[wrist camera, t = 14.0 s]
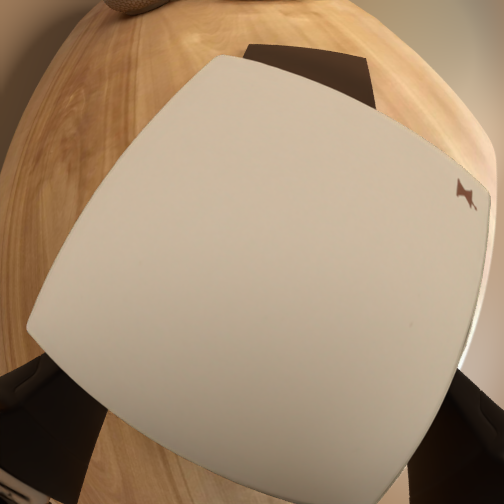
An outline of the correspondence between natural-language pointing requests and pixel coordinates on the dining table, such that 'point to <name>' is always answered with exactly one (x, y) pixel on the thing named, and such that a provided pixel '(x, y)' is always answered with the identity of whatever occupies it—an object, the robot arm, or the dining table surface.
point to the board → (319, 68)
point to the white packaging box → (272, 284)
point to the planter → (134, 5)
